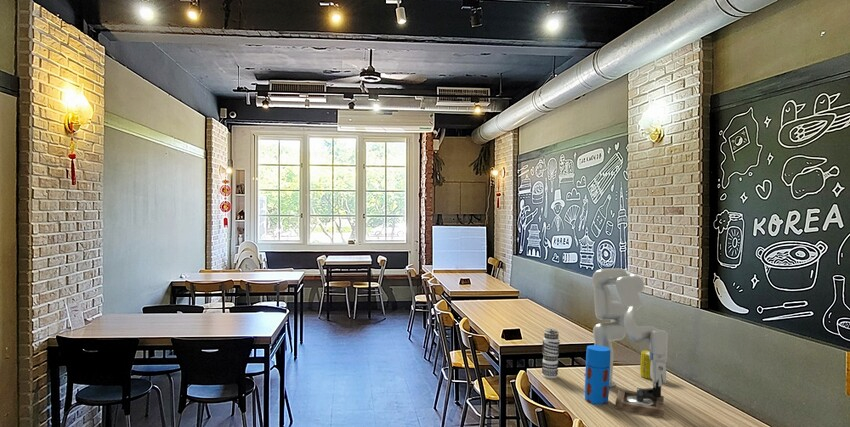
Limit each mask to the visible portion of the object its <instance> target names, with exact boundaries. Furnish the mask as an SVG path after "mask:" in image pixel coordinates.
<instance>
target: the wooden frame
mask: <svg viewBox="0 0 850 427" xmlns="http://www.w3.org/2000/svg"><path fill="white" fill-rule="evenodd" d="M628 396H637V391H633V390H627V389H621V388H619V389H618V391H617V395H616V399H615V406H614V408H615V410H619V411H623V412H630V413H634V414H635V413H636V414H641V415H648V416H650V417H651V416H652V417H658V418H664V412H665V409H664V408H665V406H664V404H665V402H664V401H665V400H664V397H665V396H663V395H661V397H660V398H649V399H651V400H652V401H653V402H654V405H653V406H648V405H642V404H636V403H631V402H627V397H628Z"/></svg>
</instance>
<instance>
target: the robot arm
mask: <svg viewBox="0 0 850 427" xmlns="http://www.w3.org/2000/svg"><path fill="white" fill-rule="evenodd" d="M592 274H593V275H592V277H591V286H592V289H593V298H594V300H593V301H594V314H595V317H596V319H598V320H601V321H608V322H599V323H597V324H595V325H594V326H593V329H592V335H593V345H599V346H604V347H608V348H609V349H610V376H609V388H613V387H615V386H616V381H615V380H613V375H614V373H613V371H614V347H613V345H612V343H611V342H614V341H622V340H623V339H624V338H625V337H626V334H627V335H628V336H627V337H628V338H629V340H631V342H633V343H636V344H638V343H639V344H640V343H641V344H642V343H649V351H650V352H649V359H650V360H651V367H650V377H651V380H652V388H653V396H654V397H661V396H662V386H663V385H662V383H663V384H664V385H666V384H667V364H666V363H667V362H668V347H669V346H668V344H669V340H668V339H669V334H668V331H666V330H664V329H659V328H658V327H656V326H653V325H638V324H637V322H636V318H635V314H636V311H637V310H639V309H640V308H642V306H643V301H642V298H641V296H640V293H641V292H643V291H644V289H645V282H644V280H643V279H642V277H640V276H639V275H637V274H635V273H633V272H631V271H629V270H627V269H625V268H615V267H614V268H612V267H611V268H601V269H598V270H595V271H594V273H592ZM613 285H614V286H615V287H616V291H617V293H618V295H619V297H620V300H621V302H620V301H617V300H612V292H611V290H610V288H609V287H608V286H613ZM609 321H610V322H609ZM584 377H585V374H584Z"/></svg>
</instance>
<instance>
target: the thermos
mask: <svg viewBox="0 0 850 427" xmlns="http://www.w3.org/2000/svg"><path fill="white" fill-rule="evenodd" d="M585 358H586V359H585V372H584V375H585V376H584V400H585V402H587V403H590V404H593V405H598V406H603V405H607V404H608V403H609V395H610V393H609V392H610V387H609V376H610V349H609V348H608V347H604V346H599V345H594V344H592V345H591V344H590V345H587V346H586V353H585Z"/></svg>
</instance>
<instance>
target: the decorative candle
mask: <svg viewBox="0 0 850 427" xmlns="http://www.w3.org/2000/svg"><path fill="white" fill-rule="evenodd" d="M543 335H544V336H543V340H542V345H541V346H542V350H541V351H542V352H541V353H542V355H543V358H542V362H541V363H542V365H541V367H542V368H541V376H542V377H543V378H547V379H556V378H558V375H559V369H558V368H559V359H558V357H559V356H560V355H559V354H560V353H559V351H560V349H559V348H560V346H559V345H560V344H561V343H560V338H559V335H560V332H559V331H558V330H557V329H555V328H546V329H545V330H544V331H543Z"/></svg>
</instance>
